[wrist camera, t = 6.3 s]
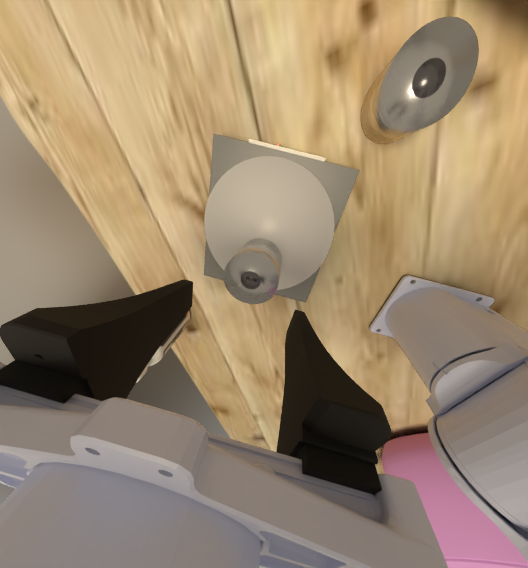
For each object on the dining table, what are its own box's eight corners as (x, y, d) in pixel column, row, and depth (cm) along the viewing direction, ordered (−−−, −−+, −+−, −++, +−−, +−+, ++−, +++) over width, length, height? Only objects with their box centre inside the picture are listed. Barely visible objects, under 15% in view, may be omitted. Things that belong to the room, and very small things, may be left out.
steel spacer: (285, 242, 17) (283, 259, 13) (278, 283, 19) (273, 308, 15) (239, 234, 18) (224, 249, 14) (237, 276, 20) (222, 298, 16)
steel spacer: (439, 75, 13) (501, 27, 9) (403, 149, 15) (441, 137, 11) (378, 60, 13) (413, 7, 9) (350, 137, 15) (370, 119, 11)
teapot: (345, 431, 35) (375, 579, 22) (486, 415, 28) (659, 622, 15) (380, 483, 43) (418, 616, 30) (498, 481, 35) (618, 657, 22)
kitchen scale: (355, 165, 16) (366, 161, 14) (305, 293, 23) (306, 306, 20) (222, 132, 16) (210, 122, 14) (210, 268, 23) (200, 278, 20)
